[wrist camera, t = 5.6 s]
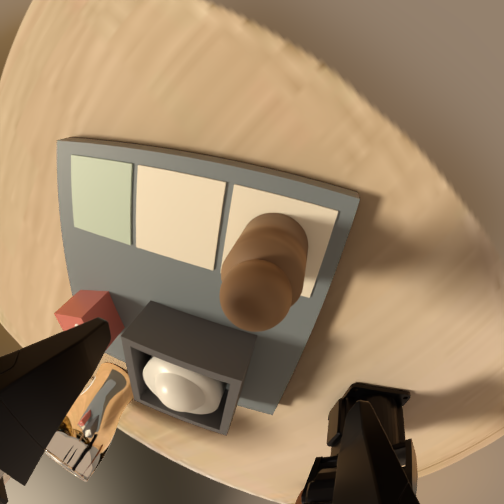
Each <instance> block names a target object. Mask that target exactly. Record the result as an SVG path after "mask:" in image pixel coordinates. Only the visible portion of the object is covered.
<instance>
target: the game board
mask: <svg viewBox="0 0 504 504" xmlns="http://www.w3.org/2000/svg"><path fill="white" fill-rule="evenodd" d="M57 183H58V199H59V212H60V222H61V231H62V238H63V246H64V252H65V259H66V265H67V270H68V276H69V281H70V286H71V291H72V295H73V296H74V295H75V294H76V293H77V292H78V291H80V290H94V291H109V294H110V296H111V298H112V301H113V303H114V305H115V307H116V310H117V312H118V314H119V316H120V318H121V321H122V323H123V325H124V327H125V328H124V329H123V330H122V332H121V333H120V334H119V335H118V336H117V338H116V339H115V340H114V341H113V342H112V344H111V345H110V346H109V347H108V349H107V350H106V351H105V353H107V354H109V355H111V356H113V357H115V358H117V359H119V360H121V361H123V362H125V363H126V366H127V370H128V375H129V379H130V384H131V388H132V392H133V396H134V400H135V401H137V402H140V403H142V404H144V405H146V406H148V407H151V408H153V409H155V410H158V411H160V412H162V413H165V414H167V415H170V416H172V417H175V418H177V419H180V420H182V421H185V422H188V423H190V424H193V425H196V426H199V427H202V428H205V429H208V430H211V431H214V432H217V433H220V434H223V435H226V436H227V433H228V430H229V427H230V424H231V421H232V419H233V416H234V413H235V410H236V407H237V405H238V406H241V407H245V408H248V409H252V410H255V411H259V412H263V413H267V414H271V415H273V413H274V411H275V409H276V407H277V405H278V403H279V401H280V399H281V397H282V395H283V393H284V391H285V389H286V387H287V385H288V383H289V380H290V378H291V376H292V374H293V372H294V370H295V368H296V365H297V363H298V361H299V359H300V357H301V354H302V352H303V350H304V348H305V345H306V343H307V341H308V338H309V336H310V334H311V331H312V329H313V327H314V324H315V322H316V320H317V317H318V315H319V312H320V310H321V307H322V305H323V302H324V300H325V297H326V295H327V292H328V290H329V287H330V284H331V282H332V279H333V277H334V274H335V271H336V269H337V266H338V263H339V260H340V258H341V255H342V252H343V249H344V246H345V243H346V241H347V238H348V235H349V232H350V229H351V226H352V223H353V220H354V217H355V214H356V211H357V207H358V204H359V201H360V198H359V195H358V193H357V192H355V191H352V190H348V189H345V188H342V187H338V186H335V185H331V184H328V183H324V182H320V181H317V180H313V179H309V178H306V177H302V176H298V175H294V174H290V173H286V172H282V171H278V170H274V169H269V168H265V167H261V166H256V165H252V164H247V163H243V162H238V161H233V160H228V159H223V158H218V157H213V156H208V155H203V154H197V153H191V152H186V151H180V150H174V149H167V148H161V147H154V146H147V145H140V144H132V143H124V142H115V141H106V140H96V139H85V138H73V137H69V138H65V139H61V140H57ZM265 213H280V214H284V215H287V216H289V217H291V218H292V219H294V220H295V221H297V222H298V223H299V224H300V225H301V226H302V228H303V229H304V231H305V233H306V235H307V239H308V255H307V262H306V270H305V278H304V285H303V290H302V293H301V296H300V297H299V299H298V300H297V302H296V303H295V304H294V305H293V306H291V307H290V309H289V312H288V313H287V315H286V317H285V318H284V319H283V320H282V321H281V322H280V323H279V324H278V325H276V326H275V327H273V328H271V329H268V330H265V331H260V332H252V331H247V330H243V329H241V328H239V327H237V326H235V325H234V324H233V323H232V322H231V321H230V320H229V319H228V318H227V317H226V315H225V314H224V312H223V310H222V307H221V304H220V296H219V294H220V287H221V284H222V280H221V268H222V264H223V262H224V260H225V258H226V257H227V255H228V254H229V252H230V250H231V249H232V247H233V246H234V244H235V243H236V241H237V240H238V238H239V236H240V235H241V233H242V232H243V230H244V229H245V227H246V225H247V224H248V223H249V222H250V221H251V220H252V219H254V218H255V217H257V216H259V215H261V214H265ZM152 356H154V357H156V358H159V359H161V360H164V361H166V362H169V363H171V364H174V365H177V366H179V367H182V368H185V369H187V370H190V371H193V372H196V373H198V374H201V375H204V376H207V377H210V378H213V379H216V380H219V381H222V382H225V383H227V386H226V388H225V391H224V394H223V396H222V399H221V401H220V404H219V406H218V408H217V409H216V410H215V411H214V412H212V413H208V414H193V413H188V412H179V411H175V410H172V409H170V408H168V407H167V406H165V405H164V404H163V403H162V402H161V401H160V399H159V398H158V397H157V396H156V395H155V394H154V393H153V392H152V391H151V390H150V389H149V387H148V386H147V384H146V383H145V381H144V378H143V369H144V367H145V366H146V364H147V363H148V361H149V360H150V358H151V357H152Z"/></svg>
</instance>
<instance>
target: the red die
mask: <svg viewBox="0 0 504 504" xmlns="http://www.w3.org/2000/svg"><path fill="white" fill-rule="evenodd" d="M54 314H55V316H56V318H57V320H58V322H59V324H60V325H61V327H62V329H63V331H66V330H68V329H70V328H73V327H75V326H78V325H80V324H82V323H85V322H87V321H90V320H92V319H94V318H97V317H100V318H102V319H104V320H106V321H108V323H109V328H110V333H111V341H110V343H109V345H108V347H109V346H110V345H111V344H112V342H113V341H114V340H115V339H116V338H117V336H118V335H119V334H120V333H121V332H122V330H123V329H124V328H125V327H124V325H123V323H122V321H121V318H120V316H119V314H118V312H117V310H116V307H115V305H114V303H113V301H112V298H111V296H110V294H109V291H94V290H80V291H78V292H77V293H76V294H75V295H74V296H73V297H72V298H71V299H69V300H68V301H67V302H66V303H65V304H64V305H63V306H62V307H61V308H60V309H58V310H57V311H56V312H55V313H54ZM108 347H107V349H108ZM107 349H106V350H107Z"/></svg>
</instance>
